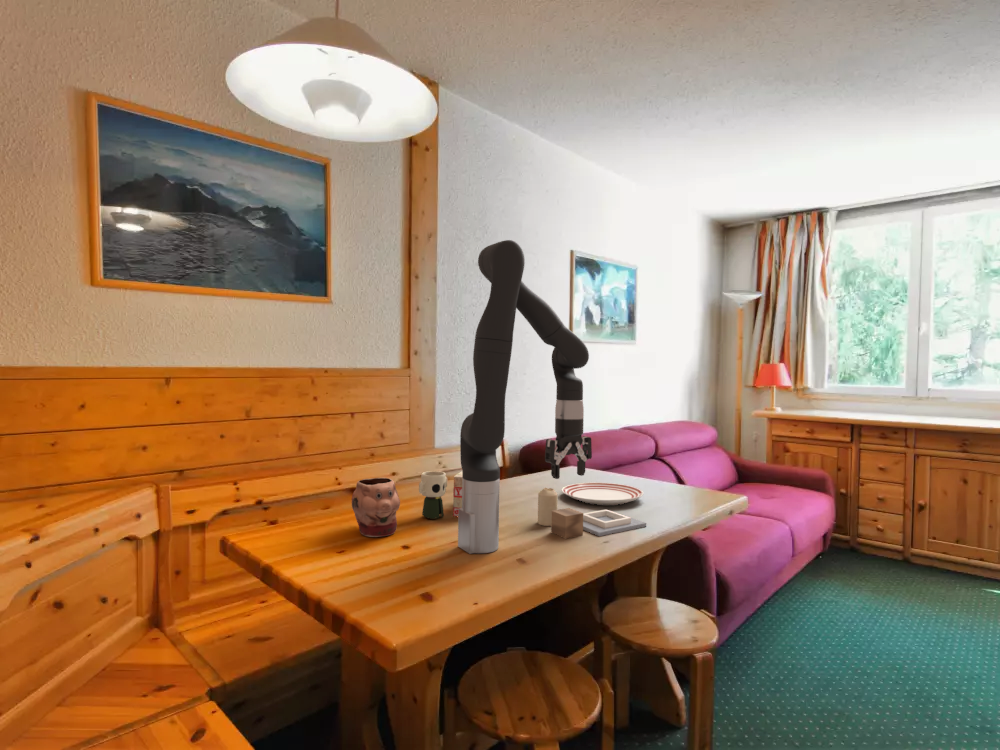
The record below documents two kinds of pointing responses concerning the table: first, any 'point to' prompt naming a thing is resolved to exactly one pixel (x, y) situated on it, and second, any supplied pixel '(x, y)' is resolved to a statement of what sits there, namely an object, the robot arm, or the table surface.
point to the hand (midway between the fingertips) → (568, 476)
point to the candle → (546, 506)
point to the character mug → (433, 493)
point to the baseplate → (609, 522)
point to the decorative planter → (376, 506)
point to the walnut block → (567, 522)
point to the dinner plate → (602, 493)
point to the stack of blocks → (457, 493)
